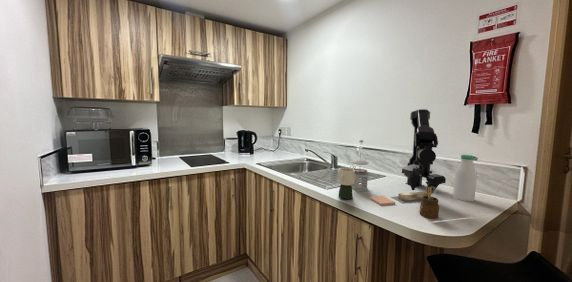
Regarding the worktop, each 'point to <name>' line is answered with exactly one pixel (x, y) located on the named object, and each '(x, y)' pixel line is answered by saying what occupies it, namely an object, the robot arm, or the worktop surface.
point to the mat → (407, 200)
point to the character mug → (346, 182)
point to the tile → (381, 200)
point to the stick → (411, 195)
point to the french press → (360, 175)
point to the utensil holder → (429, 206)
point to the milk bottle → (465, 179)
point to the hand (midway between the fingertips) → (420, 193)
